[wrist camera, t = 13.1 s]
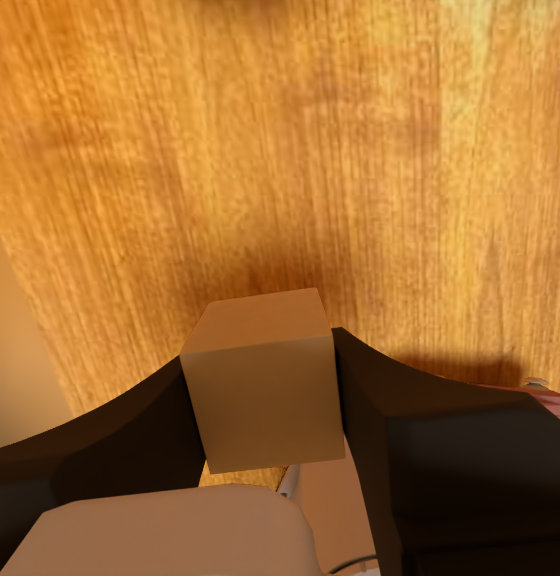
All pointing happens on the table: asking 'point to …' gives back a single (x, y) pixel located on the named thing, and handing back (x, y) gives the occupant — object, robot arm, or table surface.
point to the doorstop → (265, 382)
